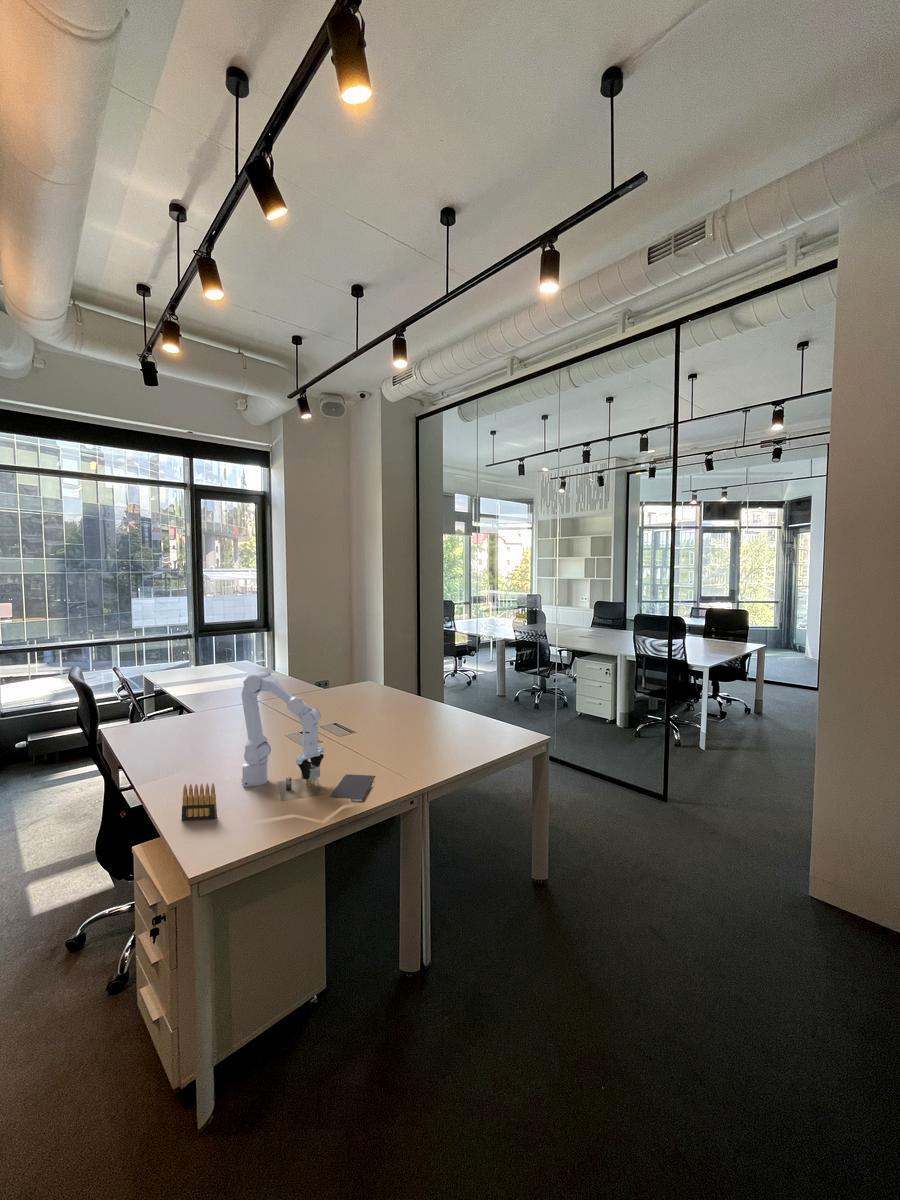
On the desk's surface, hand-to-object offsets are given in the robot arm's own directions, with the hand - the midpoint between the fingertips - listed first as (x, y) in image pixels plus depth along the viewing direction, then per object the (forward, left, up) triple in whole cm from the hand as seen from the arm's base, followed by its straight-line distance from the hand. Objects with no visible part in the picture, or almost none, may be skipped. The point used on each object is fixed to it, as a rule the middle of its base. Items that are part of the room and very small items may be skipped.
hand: (310, 776), depth 186 cm
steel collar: (0, 0, -1) cm, 1 cm away
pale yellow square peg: (0, 0, -4) cm, 4 cm away
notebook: (+15, -6, -6) cm, 17 cm away
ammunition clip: (-38, -10, -5) cm, 39 cm away
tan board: (-4, 0, -5) cm, 6 cm away
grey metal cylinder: (-8, 0, -4) cm, 9 cm away
